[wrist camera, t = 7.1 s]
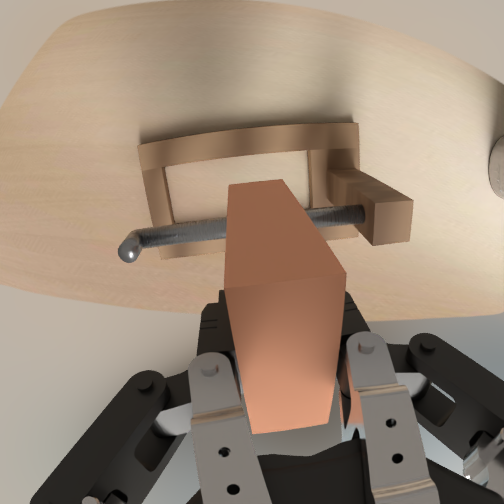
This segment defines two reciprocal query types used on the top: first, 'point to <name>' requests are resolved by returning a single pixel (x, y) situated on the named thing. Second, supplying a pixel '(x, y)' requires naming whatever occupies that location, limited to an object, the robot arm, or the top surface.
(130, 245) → the hook arm
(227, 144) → the wooden hook stand
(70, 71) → the top surface
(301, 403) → the salmon wooden arch
